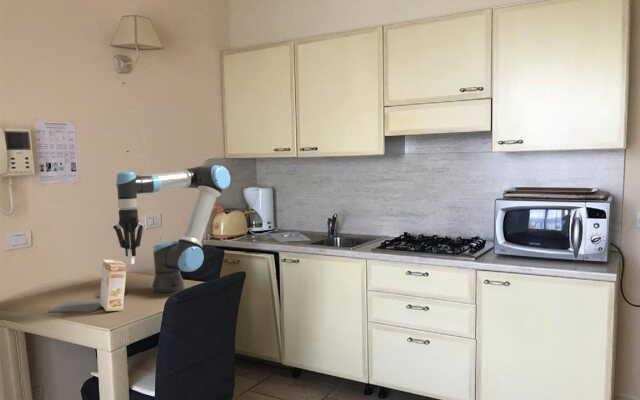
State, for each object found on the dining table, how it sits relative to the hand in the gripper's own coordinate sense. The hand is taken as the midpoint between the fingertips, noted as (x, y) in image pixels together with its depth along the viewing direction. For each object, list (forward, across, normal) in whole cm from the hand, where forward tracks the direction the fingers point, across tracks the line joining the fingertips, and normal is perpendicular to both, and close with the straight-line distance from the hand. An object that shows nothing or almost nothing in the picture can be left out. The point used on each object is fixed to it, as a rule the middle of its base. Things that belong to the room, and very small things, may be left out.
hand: (131, 263), depth 219 cm
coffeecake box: (+19, +10, 0) cm, 22 cm away
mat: (+19, +25, -3) cm, 32 cm away
